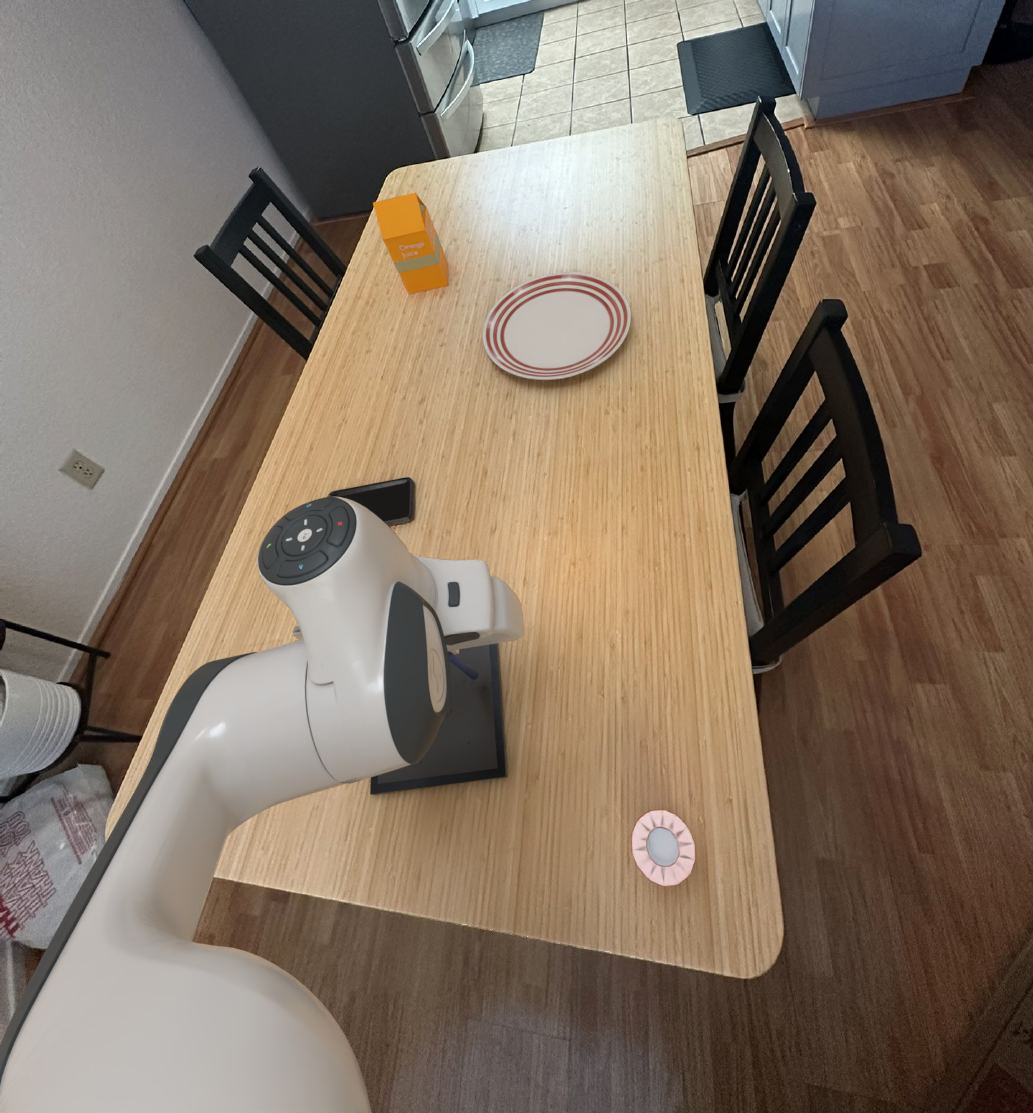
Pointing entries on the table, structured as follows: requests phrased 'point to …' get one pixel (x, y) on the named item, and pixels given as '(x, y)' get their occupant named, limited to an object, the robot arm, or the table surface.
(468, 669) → the stylus
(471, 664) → the tablet
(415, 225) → the orange juice
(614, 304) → the dinner plate
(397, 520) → the phone
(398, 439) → the table surface
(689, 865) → the holder
